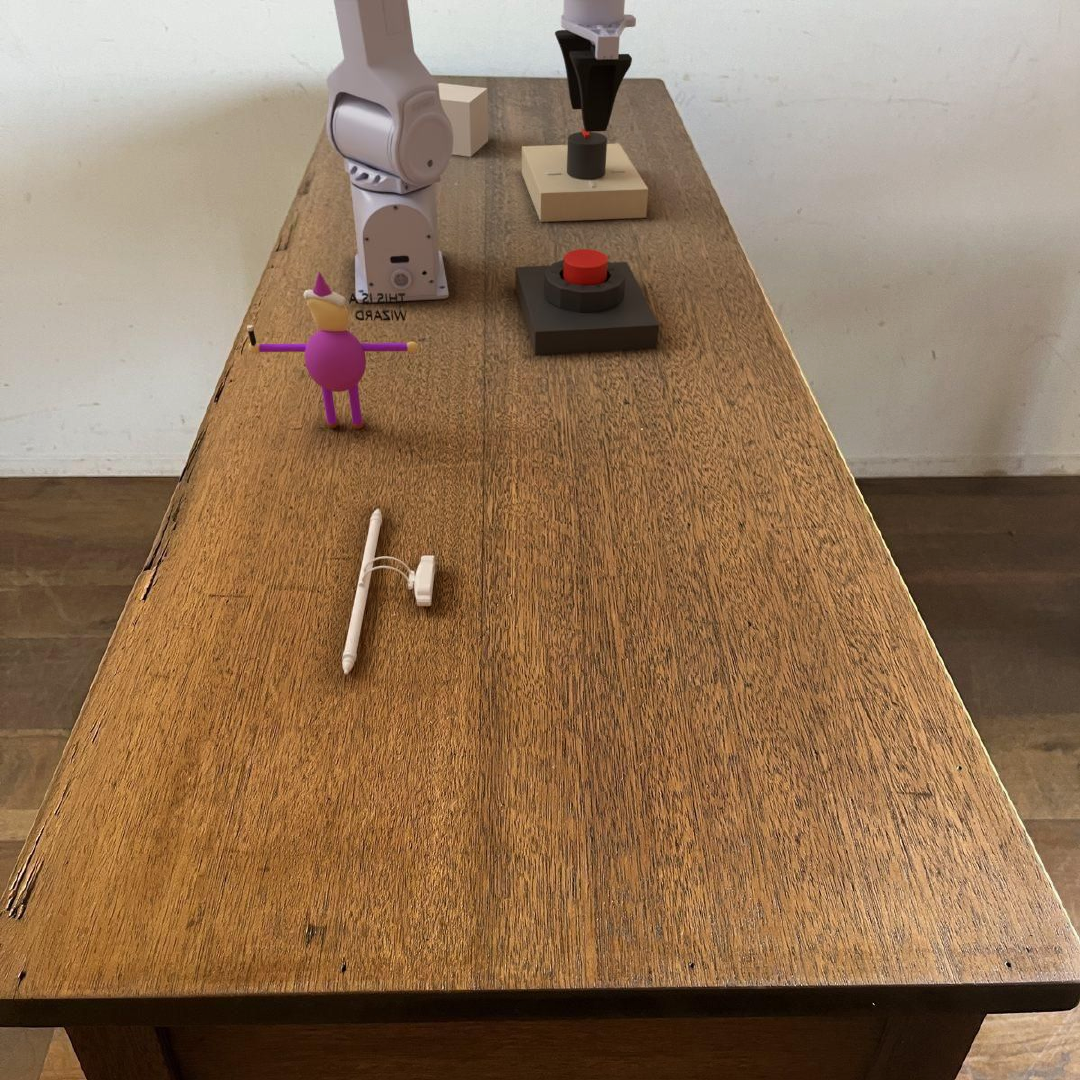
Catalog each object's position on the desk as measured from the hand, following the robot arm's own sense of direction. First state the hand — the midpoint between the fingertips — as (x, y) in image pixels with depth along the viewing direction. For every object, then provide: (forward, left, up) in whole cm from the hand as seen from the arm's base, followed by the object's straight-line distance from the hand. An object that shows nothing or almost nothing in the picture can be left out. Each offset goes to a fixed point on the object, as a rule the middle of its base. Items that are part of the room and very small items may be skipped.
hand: (588, 119), depth 99 cm
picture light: (-58, +22, -9) cm, 63 cm away
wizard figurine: (-41, +25, -9) cm, 49 cm away
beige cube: (+19, +12, -9) cm, 24 cm away
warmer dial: (0, 0, -5) cm, 5 cm away
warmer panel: (+2, 0, -8) cm, 9 cm away
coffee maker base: (-26, +5, -8) cm, 28 cm away
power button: (-26, +5, -5) cm, 27 cm away
